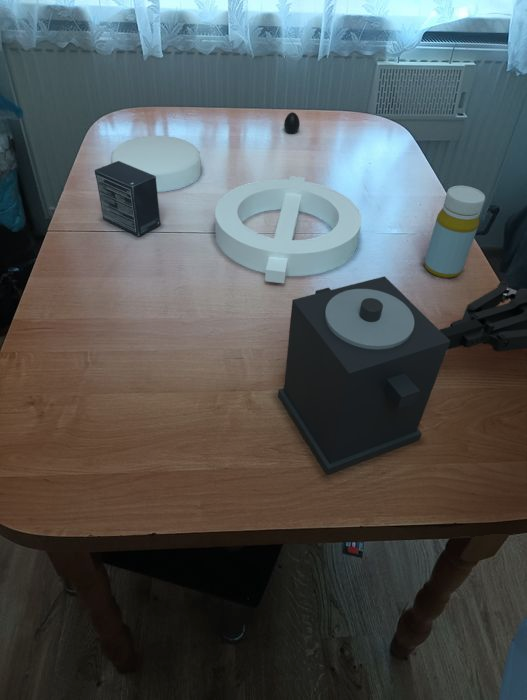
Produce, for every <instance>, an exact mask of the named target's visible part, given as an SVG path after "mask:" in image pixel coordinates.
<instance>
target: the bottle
mask: <svg viewBox="0 0 527 700" xmlns="http://www.w3.org/2000/svg"><path fill="white" fill-rule="evenodd" d="M485 201H486V195H485V194H484V192H482V191H481V190H480V189H477V188H475V187H472V186H467V185H454V186H451V187H449V188H448V190H447V191H446V195H445V197H444V202H443V206H442V208H441V210H440V211H439V212H438V213H437V216H436V219H435V223H434V227H433V230H432V233H431V236H430V240H429V242H428V243H429V244H428V247H427V250H426V254H425V257H424V261H423V265H424V266H425V269H426V270H427V271H428V272H429V273H430V274H431V275H433V276H434V277H439V278H442V279H452V278H456V277H458V276H459V275H460V274H462V272H463V270H464V267H465V265H466V262H467V260H468V256H469V253H470V251H471V248H472V246H473V242H474V240H475V238H476V234H477V231H478V230H479V229H478V228H479V225H480V215H481V211H482V209H483V206H484V203H485Z"/></svg>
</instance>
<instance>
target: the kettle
mask: <svg viewBox="0 0 527 700" xmlns="http://www.w3.org/2000/svg"><path fill="white" fill-rule="evenodd" d="M291 303H292V304H291V311H290V321H289V331H288V332H289V333H288V340H287V341H288V342H287V351H286V352H287V353H286V360H285V361H286V362H285V371H284V372H285V373H284V384H283V387H282V388H279V389H278V393H277V397H278V399H279V401H280V402H281V404H282V406H283V407H284V410H286V412H287V414H288V415H289V417H290V419H291V420H292V422H293V424H294V425H295V427H296V428H297V430H298V432H299V434H300V435H301V436H302V438H303V440H304V441H305V443H306V445H307V446H308V448H309V449H310V451H311V453H312V454H313V456H314V457H315V459H316V461H317V462H318V464H319V465H320V467H321V469H322V470H323V472H324V474H325V476H329V475H332V474H334V473H337V472H339V471H343V470H345V469H347V468H350V467H352V466H355V465H358V464H360V463H363V462H366V461H368V460H371V459H374V458H376V457H379V456H382V455H385V454H388V453H389V452H392V451H395V450H397V449H401V448H402V447H405V446H408V445H410V444H413V443H415V442H418V441H420V440H421V437H422V433H423V432H421V430H420V429H419V426H420V424H421V420H422V417H423V415H424V412H425V410H426V407H427V405H428V402H429V399H430V396H431V394H432V391H433V389H434V386H435V383H436V381H437V378H438V375H439V373H440V370H441V368H442V365H443V363H444V360H445V357H446V354H447V352H448V350H447V349H448V346H449V344H450V340H449V339H448V338H447V337H446V336H445V335H444V334H443V333H442V332H441V331H440V329H439V328H438V327H437V326H436V325H435V324H434V323H433V322H432V321H431V320H430V319H429V318H428V316H427V317H426V315H425V314H424V313H423V312H421V310H420V309H419V308H418V307H416V306H415V305H414V304H413V302H412V301H411V300H409V299H408V298H407V297H406V296H405V294H403V292H401V291H400V290H399V288H398V287H396V286H395V285H394V283H392V282H391V281H390V280H389V279H388V278H387V277H386V276H381V277H377V278H371V279H369V280H364V281H361V282H356V283H353V284H352V283H351V284H349V285H345V286H341V287H337V288H332V289H331V288H330V287H325V288H320V289H317V290H315V293H314V294H309V295H306V296H301V297H296V298H294V299H292V301H291Z"/></svg>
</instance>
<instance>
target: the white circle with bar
mask: <svg viewBox="0 0 527 700" xmlns="http://www.w3.org/2000/svg"><path fill="white" fill-rule="evenodd" d="M269 211H280V212H279V217H278V221H277V225H276V227H275V231H274V235H273V237H269V236H266V235H263V234H261V233H258V232H255V230H252V229H250V228H249V227H247V225H245V224H244V221H246V220H247V219H249V218H250V217H252V216H254V215H257V214H260V213H264V212H269ZM300 212H301V213H303V214H308V215H311V216H314V217H315V218H318V219H319V220H321V221H323V222H325V224H327V225H328V226H329V227H330V228H331V230H330V231H328V232H326V233H325V234H322V235H320V236H317V237H313V238H306V239H295V238H294V237H295V233H296V228H297V225H298V224H297V223H298V219H299V214H300ZM214 223H215V224H214V226H215V227H214V228H215V229H214V230H215V240H216V244H217V246H218V247H219V248H220V250H221V251H222V252H223V253H224V254H225V255H226V256H227V258H229V259H230V260H232V261H233V262H235V263H236V264H239V265H241V266H243V267H245V268H247V269H250V270H253V271H256V272H258V273H263V274H265V278H264V281H265V282H269V283H277V284H285V282H286V277H305V276H313V275H319V274H322V273H326V272H329V271H332V270H334V269H337V268H338V267H340V266H342V265H343V264H345V263H346V262H348V261H349V260H350V259H351V258H352V257H353V255H354V254H355V252H356V250H357V248H358V243H359V236H360V233H361V232H360V231H361V227H362V214H361V212H360V210H359V208H358V206H357V205H356V204H355V203H354V202H353V201H352V200H351V199H349V197H347V196H346V195H344V194H343V193H341V192H339V191H337V190H335V189H332V188H331V187H328V186H325V185H322V184H319V183H316V182H311V181H306V177H303V176H295V175H289V178H273V179H263V180H257V181H251V182H248V183H245V184H241V185H239V186H237V187H235V188H233V189H231V190H229V191H227V192H226V193H225V194H223V195H222V197H221V198H220V199H218V201H217V204H216V205H215V209H214Z"/></svg>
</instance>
